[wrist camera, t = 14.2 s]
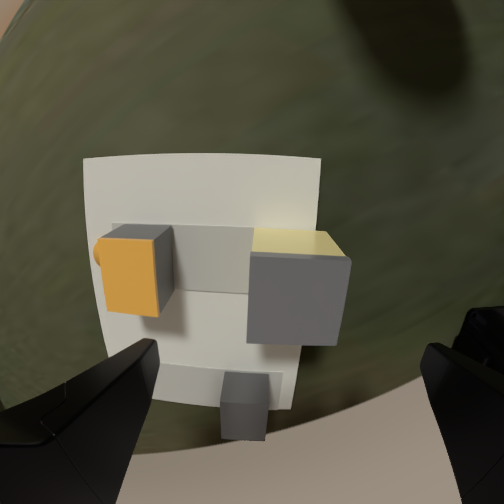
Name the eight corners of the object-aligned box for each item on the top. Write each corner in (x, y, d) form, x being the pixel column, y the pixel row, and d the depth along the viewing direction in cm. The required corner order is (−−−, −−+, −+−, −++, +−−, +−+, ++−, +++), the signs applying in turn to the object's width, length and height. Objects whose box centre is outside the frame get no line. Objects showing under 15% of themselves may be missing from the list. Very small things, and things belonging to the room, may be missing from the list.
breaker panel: (316, 158, 17) (321, 158, 15) (289, 396, 23) (290, 412, 21) (95, 157, 17) (80, 159, 16) (124, 380, 23) (116, 393, 21)
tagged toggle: (171, 225, 17) (151, 241, 14) (174, 290, 18) (158, 317, 15) (124, 223, 17) (97, 239, 14) (129, 286, 18) (107, 311, 15)
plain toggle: (268, 374, 20) (269, 404, 17) (264, 411, 21) (264, 441, 18) (224, 371, 20) (219, 401, 17) (225, 409, 21) (221, 438, 18)
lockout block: (327, 230, 17) (351, 261, 12) (318, 297, 18) (336, 345, 13) (253, 226, 17) (249, 256, 12) (250, 294, 18) (246, 343, 13)
